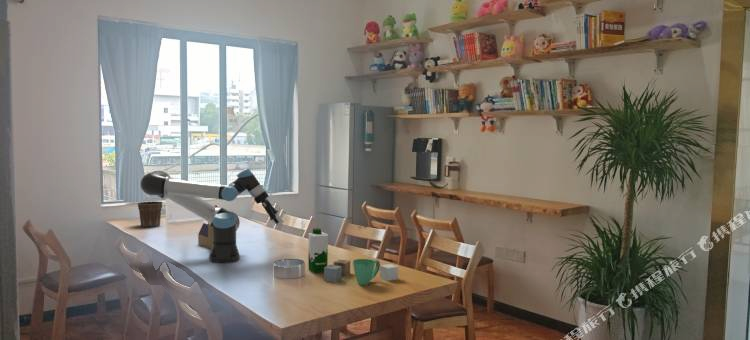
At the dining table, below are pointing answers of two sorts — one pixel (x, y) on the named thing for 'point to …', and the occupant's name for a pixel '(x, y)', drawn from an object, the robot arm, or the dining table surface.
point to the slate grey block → (332, 273)
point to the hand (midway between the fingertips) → (281, 225)
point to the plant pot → (150, 213)
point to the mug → (365, 270)
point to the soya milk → (318, 251)
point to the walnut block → (343, 266)
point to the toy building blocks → (206, 235)
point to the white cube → (389, 272)
